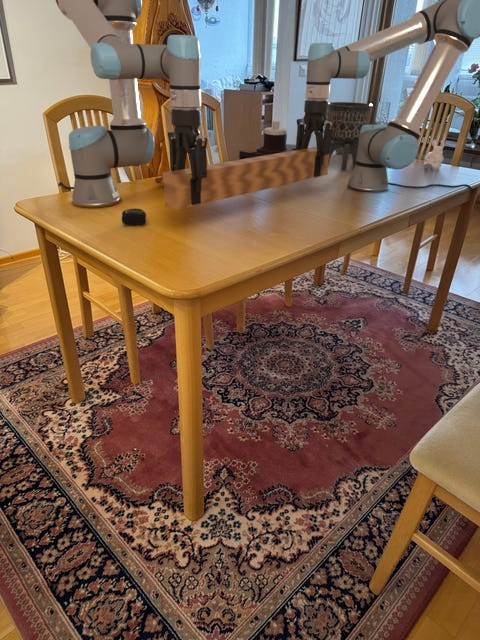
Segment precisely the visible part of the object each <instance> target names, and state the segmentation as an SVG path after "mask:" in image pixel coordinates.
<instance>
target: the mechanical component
mask: <svg viewBox="0 0 480 640" xmlns="http://www.w3.org/2000/svg"><path fill="white" fill-rule="evenodd" d="M287 138H288V129H287V128H286V127H280V121H279V120H272V126H271V127H265V128H264V129H263V145H262V146H258V147H257V148H256V151H250V150H245V149H241V150H239V153H238V154H239V155H238V157H239V159H238V160H241V159H247V158H253V157H259V156H265V155H271V154H277V153H282V152H288V151H294V150H296V144H290V143H287Z"/></svg>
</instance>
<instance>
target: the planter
mask: <svg viewBox="0 0 480 640" xmlns="http://www.w3.org/2000/svg"><path fill="white" fill-rule="evenodd" d="M373 107H374V106H373V104H372V103H367V102H353V101H333V102H328V111H327V114H326V118H327V121H329V122H333V123H334V125H333V128H332V132H331V143H330V153H329V162H328V166H329V165H330V163H331V158H332V156H333V154H334V153H335V151H336V149H338V148H340V147H342V154H341V166H340V170H341V172H345V171H347V167H348V166H347V165H348V159H349V154H348V152H349V150H350V151H351V153H352V154H351V157H352V158H351V159H352V160H351V161H352V166H353V167H355V165H356V158H357V151H358V143H359V134H360V131H361V127H362V126H363V125H370V121H371V116H372V112H373Z"/></svg>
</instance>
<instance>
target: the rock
mask: <svg viewBox="0 0 480 640" xmlns="http://www.w3.org/2000/svg"><path fill="white" fill-rule="evenodd" d="M334 153H336V154H341V155H342V147H340V148H338V149H336V150H335V151H334ZM348 155H352V153H351V151H350V150H349V152H348Z"/></svg>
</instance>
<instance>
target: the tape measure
mask: <svg viewBox="0 0 480 640" xmlns="http://www.w3.org/2000/svg"><path fill="white" fill-rule="evenodd" d="M146 218H147V214H146V212H145V210H144V209H142V208H137V207H135V208H127V209H125V210H123V211H122V213H121V222H122V224H124V225H129V226H130V225H131V226H137V225H146V224H147V219H146Z"/></svg>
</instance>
